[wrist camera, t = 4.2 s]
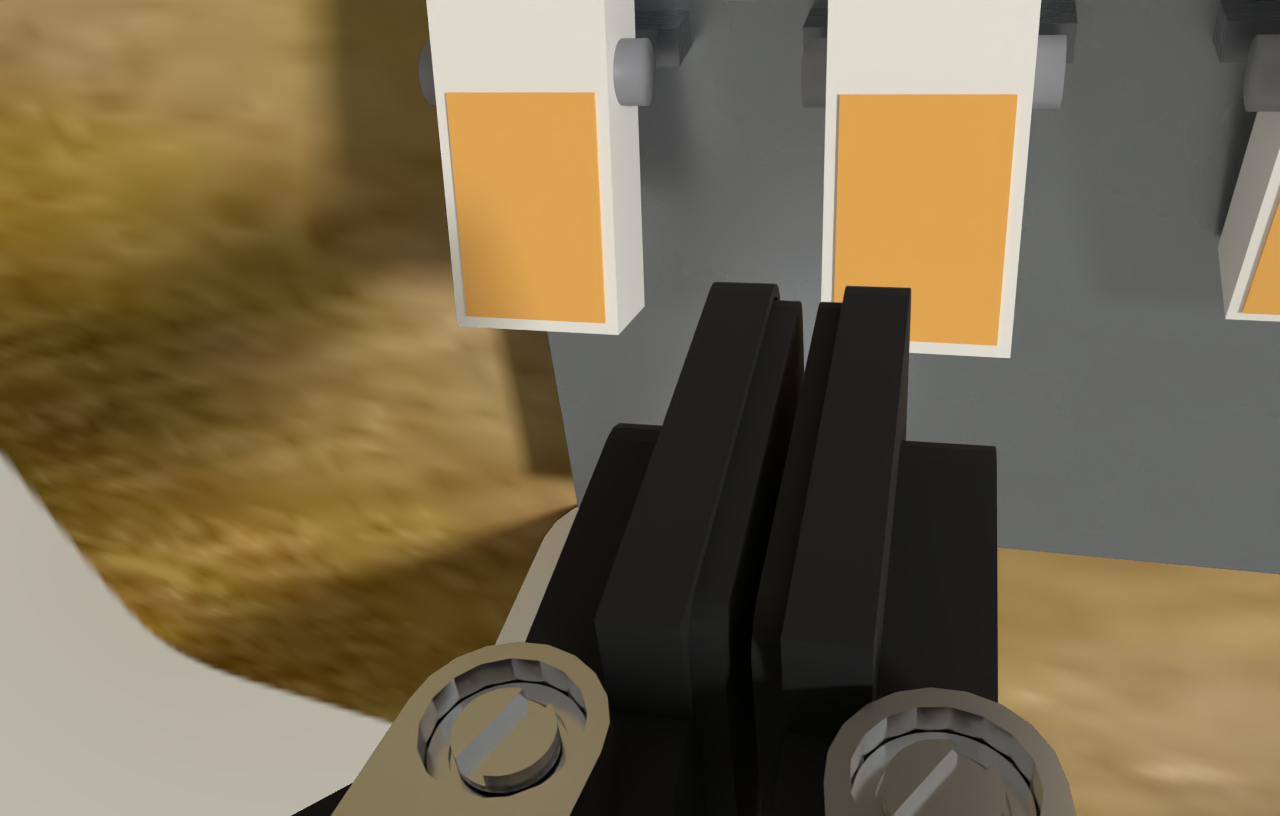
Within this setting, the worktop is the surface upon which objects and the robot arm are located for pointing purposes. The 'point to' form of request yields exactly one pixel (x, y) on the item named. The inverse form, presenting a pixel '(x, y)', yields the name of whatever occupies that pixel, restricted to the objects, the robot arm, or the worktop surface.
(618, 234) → the rocker
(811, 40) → the rocker mid
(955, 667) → the robot arm
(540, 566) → the cylindrical container
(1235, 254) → the rocker
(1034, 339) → the breaker panel
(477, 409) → the worktop surface
